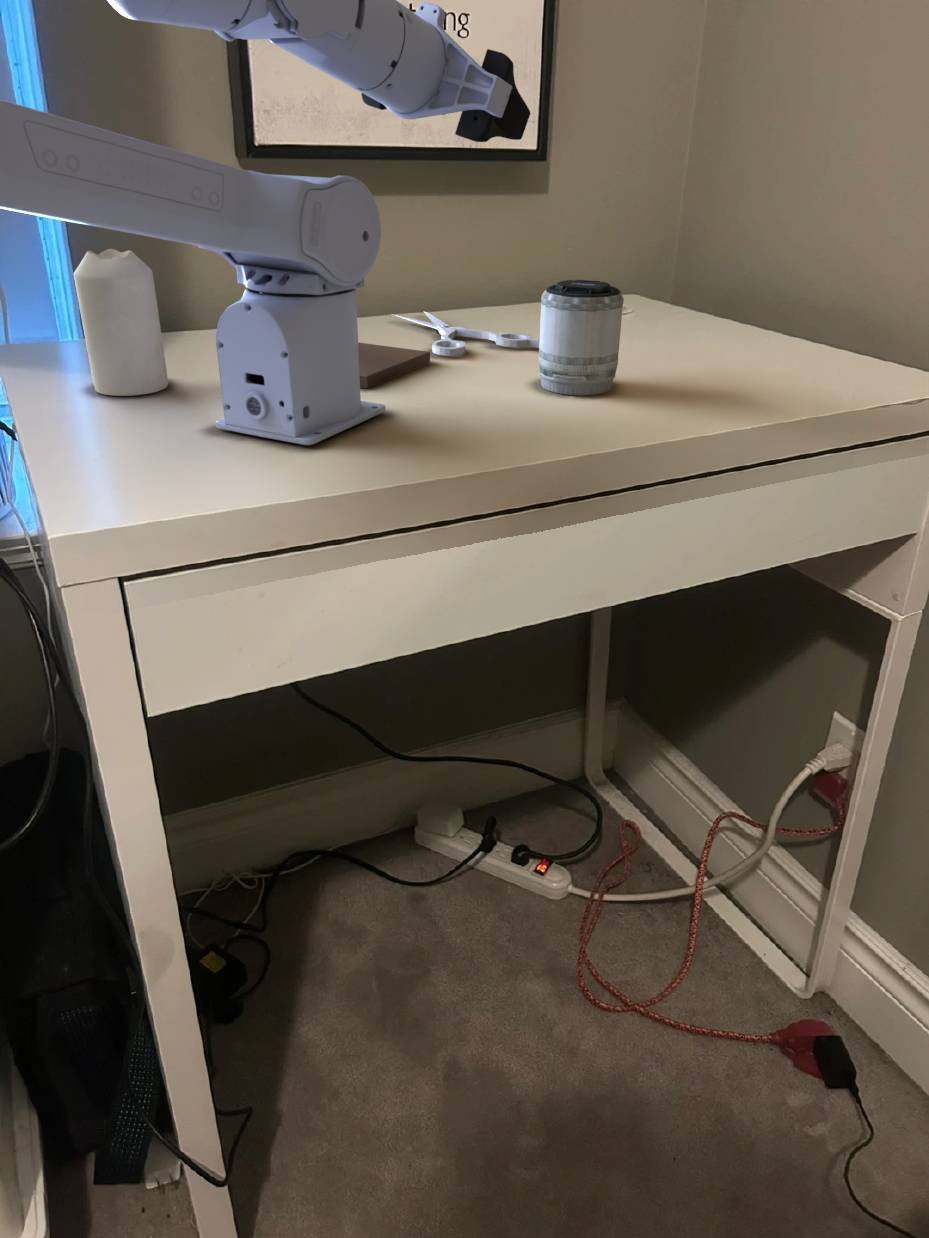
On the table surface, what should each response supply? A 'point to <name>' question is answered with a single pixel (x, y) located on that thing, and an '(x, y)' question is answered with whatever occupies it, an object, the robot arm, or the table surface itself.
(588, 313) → the camera lens
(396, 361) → the walnut board
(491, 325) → the table surface
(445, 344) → the scissors
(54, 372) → the table surface
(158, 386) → the candle
